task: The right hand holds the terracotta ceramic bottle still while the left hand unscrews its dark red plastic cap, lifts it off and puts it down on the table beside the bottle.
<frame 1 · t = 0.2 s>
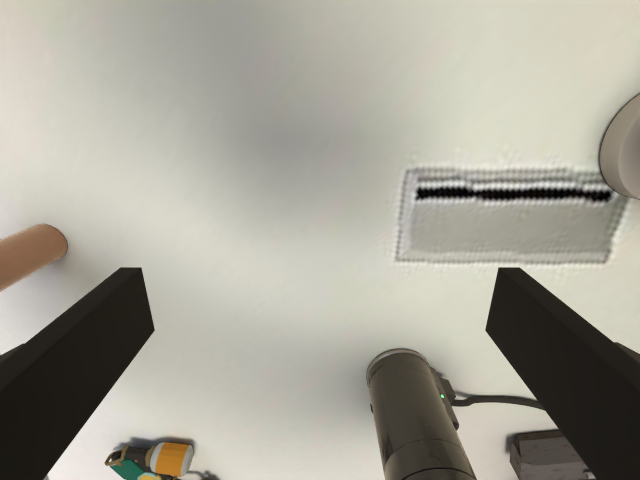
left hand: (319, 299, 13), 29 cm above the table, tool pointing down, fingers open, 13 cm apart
bottle: (47, 242, 43), on the table
spray gun: (170, 467, 57), on the table
toy: (577, 467, 57), on the table
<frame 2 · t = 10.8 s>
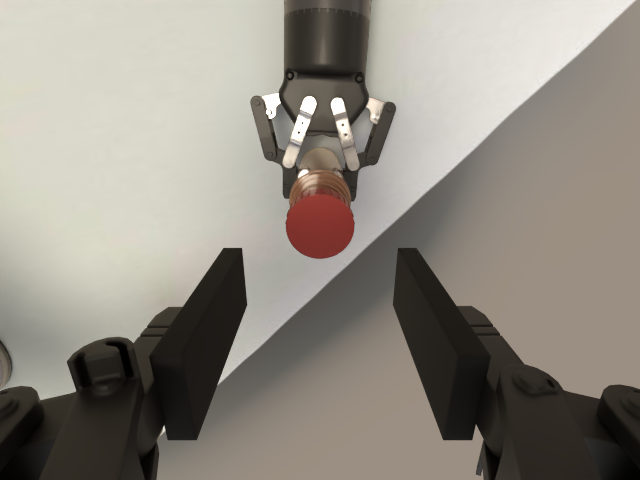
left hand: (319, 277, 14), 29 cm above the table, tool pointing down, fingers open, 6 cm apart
right hand: (319, 203, 36), fingers closed on bottle, 5 cm apart
bottle: (320, 167, 41), on the table, touching right hand
cap: (320, 226, 21), point 22 cm above the table, screwed on, not yet turned
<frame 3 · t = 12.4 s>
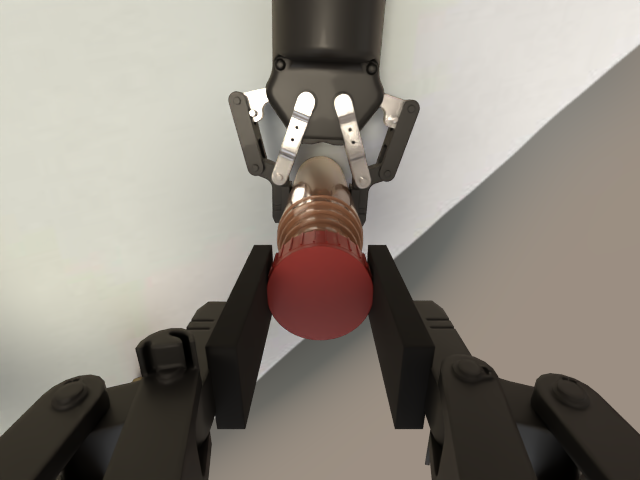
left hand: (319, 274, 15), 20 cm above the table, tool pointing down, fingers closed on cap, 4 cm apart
right hand: (319, 227, 28), fingers closed on bottle, 5 cm apart
bottle: (320, 180, 34), on the table, touching right hand
cap: (320, 292, 13), point 22 cm above the table, screwed on, not yet turned, touching left hand
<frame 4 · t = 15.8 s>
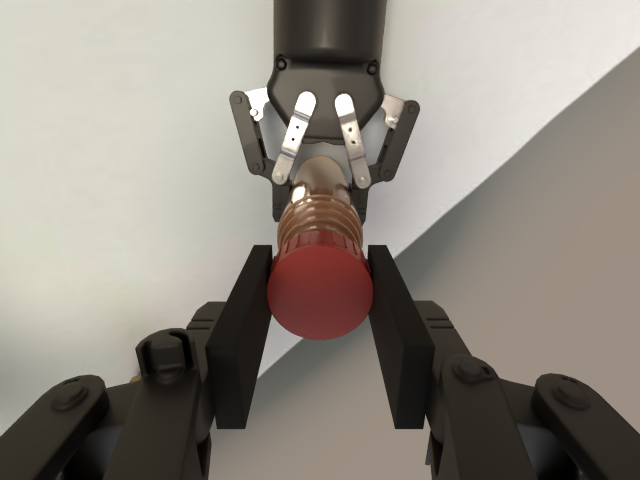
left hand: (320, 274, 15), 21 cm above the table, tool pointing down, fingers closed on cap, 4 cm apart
right hand: (318, 227, 28), fingers closed on bottle, 5 cm apart
bottle: (320, 180, 34), on the table, touching right hand
cap: (320, 291, 13), point 22 cm above the table, turned 86° so far, risen 0.1 cm, still on its thread, touching left hand
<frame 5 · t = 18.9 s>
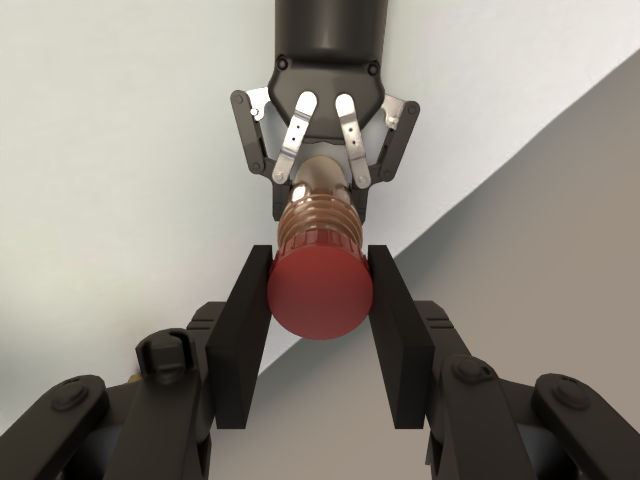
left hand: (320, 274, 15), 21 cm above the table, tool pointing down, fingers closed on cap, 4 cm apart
right hand: (318, 226, 29), fingers closed on bottle, 5 cm apart
bottle: (320, 180, 34), on the table, touching right hand
cap: (320, 291, 13), point 22 cm above the table, turned 171° so far, risen 0.2 cm, still on its thread, touching left hand
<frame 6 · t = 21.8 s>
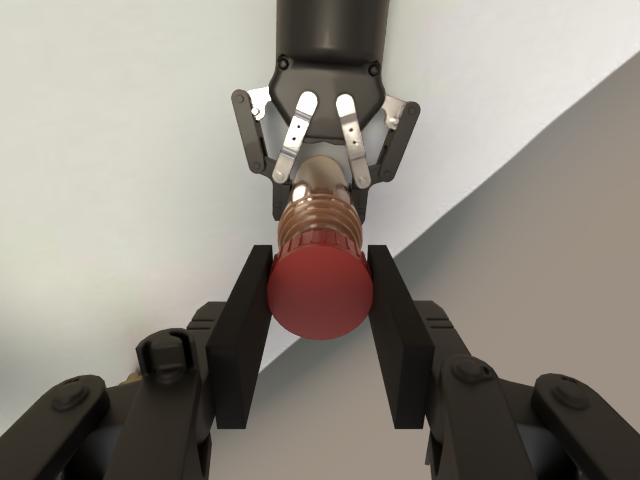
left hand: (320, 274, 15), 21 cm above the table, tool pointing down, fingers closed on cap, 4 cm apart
right hand: (318, 226, 29), fingers closed on bottle, 5 cm apart
bottle: (320, 180, 34), on the table, touching right hand
cap: (320, 291, 13), point 22 cm above the table, turned 257° so far, risen 0.3 cm, still on its thread, touching left hand
when the left hand's fingers open (1 cm above the table, at t = 34.8 s): cap drops 1 cm, point 1 cm above the table.
when the right hand's fingers open (7 cm above the table, at t = 36.1 s): bottle stays where it is, on the table.
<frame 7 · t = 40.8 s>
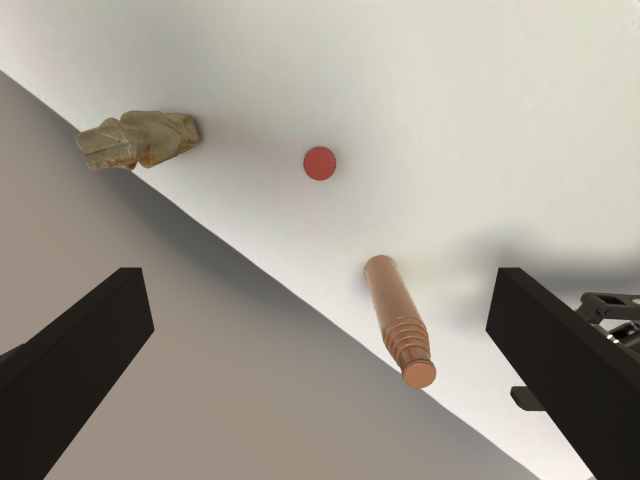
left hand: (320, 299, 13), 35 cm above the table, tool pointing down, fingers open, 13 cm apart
bottle: (380, 269, 51), on the table
sculpture: (177, 133, 44), on the table
cap: (319, 164, 44), point 1 cm above the table, off its thread
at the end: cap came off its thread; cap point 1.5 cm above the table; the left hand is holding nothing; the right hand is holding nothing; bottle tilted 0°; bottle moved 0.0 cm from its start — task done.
